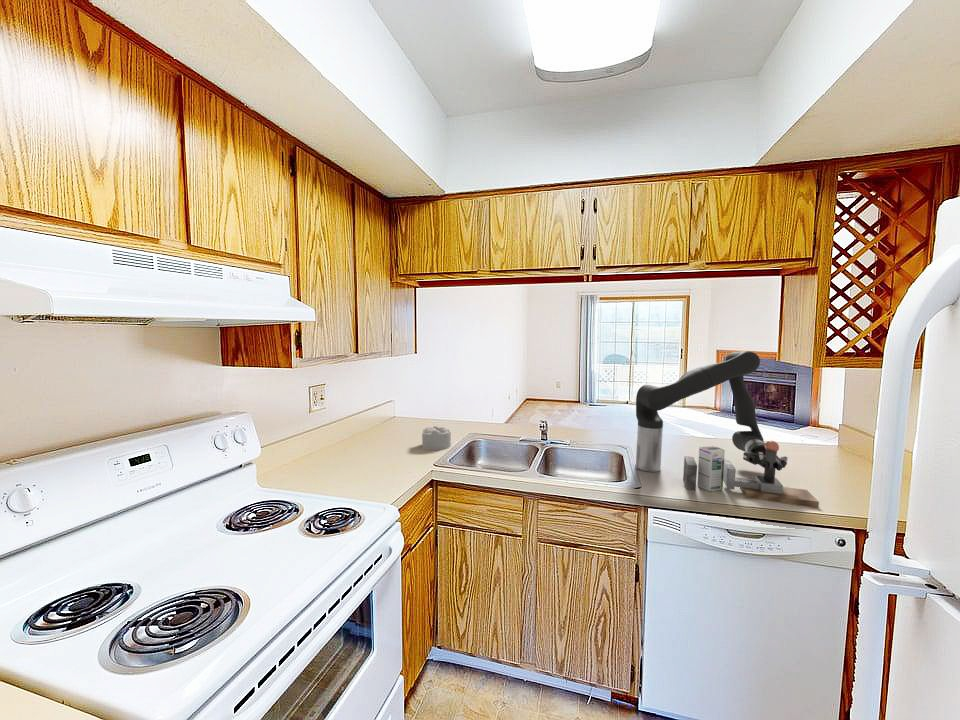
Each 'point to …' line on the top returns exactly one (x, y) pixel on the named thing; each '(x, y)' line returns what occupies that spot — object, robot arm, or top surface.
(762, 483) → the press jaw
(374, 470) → the top surface
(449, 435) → the lumpy-topped squat cylinder
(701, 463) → the syrup box
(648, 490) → the top surface
